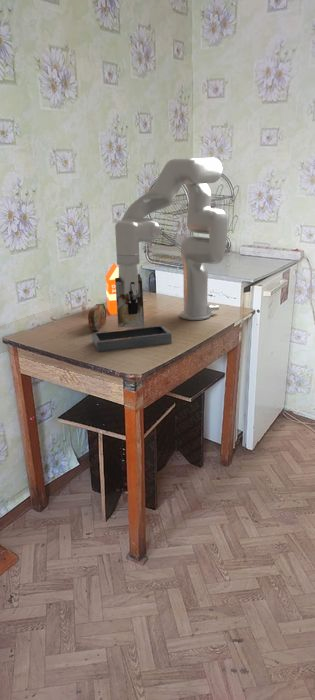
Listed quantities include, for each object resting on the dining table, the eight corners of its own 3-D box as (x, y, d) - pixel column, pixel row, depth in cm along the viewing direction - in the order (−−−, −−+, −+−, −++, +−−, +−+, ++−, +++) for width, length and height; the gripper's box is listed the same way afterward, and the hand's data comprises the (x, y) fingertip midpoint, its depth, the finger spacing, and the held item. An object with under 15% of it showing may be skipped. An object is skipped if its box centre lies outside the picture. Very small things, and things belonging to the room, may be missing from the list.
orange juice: (110, 314, 215) (107, 266, 208) (107, 308, 223) (104, 262, 216) (128, 312, 217) (126, 265, 210) (125, 307, 225) (122, 261, 218)
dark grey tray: (162, 334, 190) (162, 324, 189) (171, 343, 181) (171, 333, 179) (92, 342, 183) (91, 333, 182) (97, 352, 174) (97, 342, 173)
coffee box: (143, 321, 183) (142, 276, 177) (144, 326, 177) (143, 280, 171) (117, 322, 182) (115, 277, 177) (117, 327, 176) (115, 281, 171)
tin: (95, 333, 193) (94, 311, 190) (87, 333, 193) (86, 311, 190) (107, 321, 206) (106, 301, 203) (100, 321, 207) (98, 300, 204)
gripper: (111, 255, 179) (114, 305, 185) (122, 265, 163) (125, 319, 169) (132, 254, 180) (134, 303, 187) (145, 263, 165) (147, 316, 171)
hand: (130, 310), depth 178 cm, fingers closed on coffee box, 7 cm apart
